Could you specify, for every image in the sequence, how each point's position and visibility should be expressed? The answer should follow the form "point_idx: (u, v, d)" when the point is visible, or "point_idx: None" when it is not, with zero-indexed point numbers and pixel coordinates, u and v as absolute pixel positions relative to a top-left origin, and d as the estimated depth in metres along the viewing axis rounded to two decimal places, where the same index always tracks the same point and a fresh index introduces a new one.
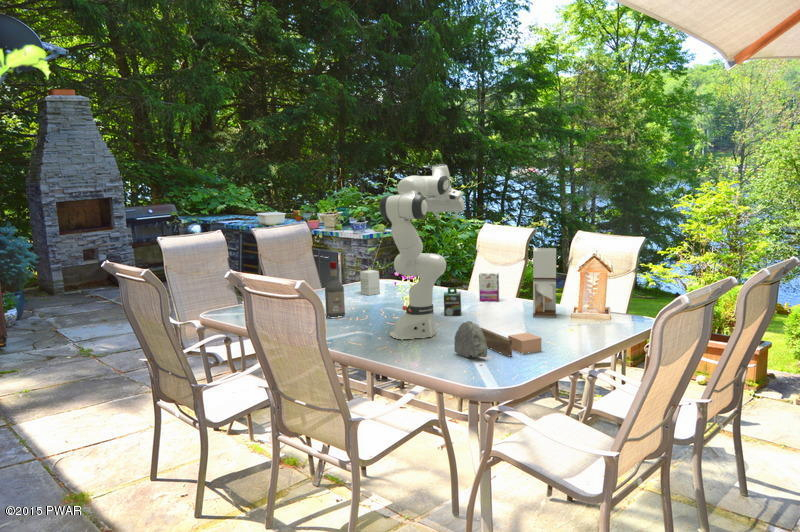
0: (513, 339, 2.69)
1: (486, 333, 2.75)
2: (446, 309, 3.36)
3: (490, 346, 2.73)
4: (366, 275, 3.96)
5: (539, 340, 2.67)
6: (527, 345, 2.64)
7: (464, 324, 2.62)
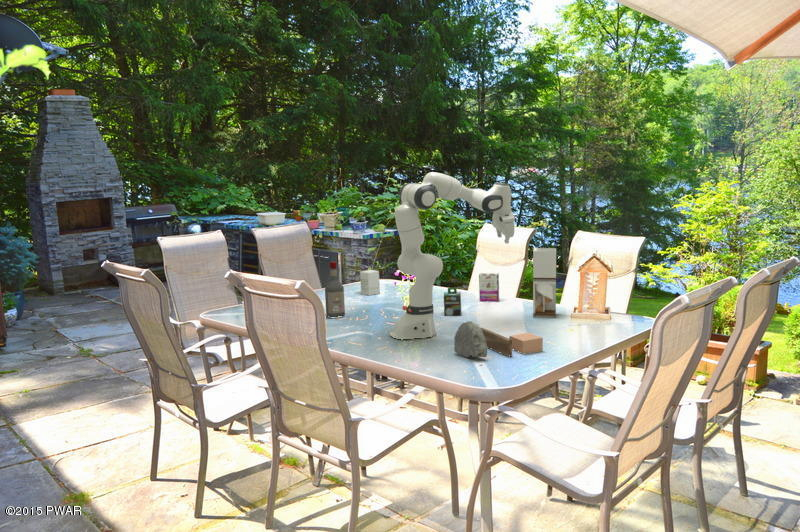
0: (514, 339, 2.68)
1: (486, 333, 2.75)
2: (446, 309, 3.36)
3: (490, 346, 2.73)
4: (366, 275, 3.96)
5: (540, 340, 2.67)
6: (529, 345, 2.64)
7: (464, 324, 2.62)
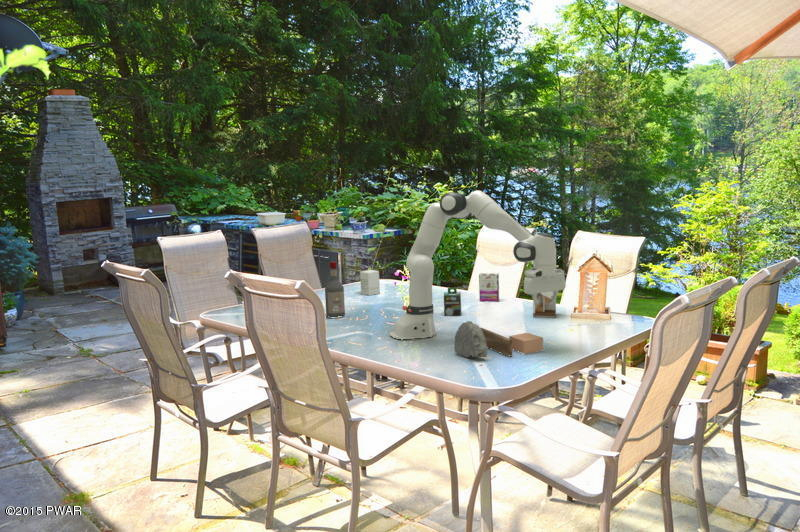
0: (515, 339, 2.68)
1: (486, 333, 2.75)
2: (446, 309, 3.36)
3: (490, 346, 2.73)
4: (366, 275, 3.96)
5: (540, 340, 2.67)
6: (529, 345, 2.64)
7: (464, 324, 2.62)
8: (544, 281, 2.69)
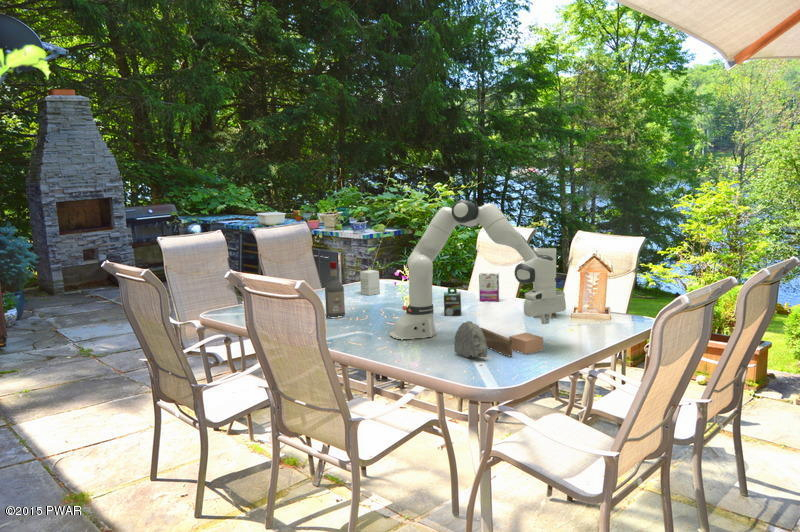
0: (515, 340, 2.68)
1: (486, 333, 2.75)
2: (446, 309, 3.36)
3: (490, 346, 2.73)
4: (366, 275, 3.96)
5: (541, 339, 2.67)
6: (530, 345, 2.64)
7: (464, 324, 2.62)
8: (544, 303, 2.70)
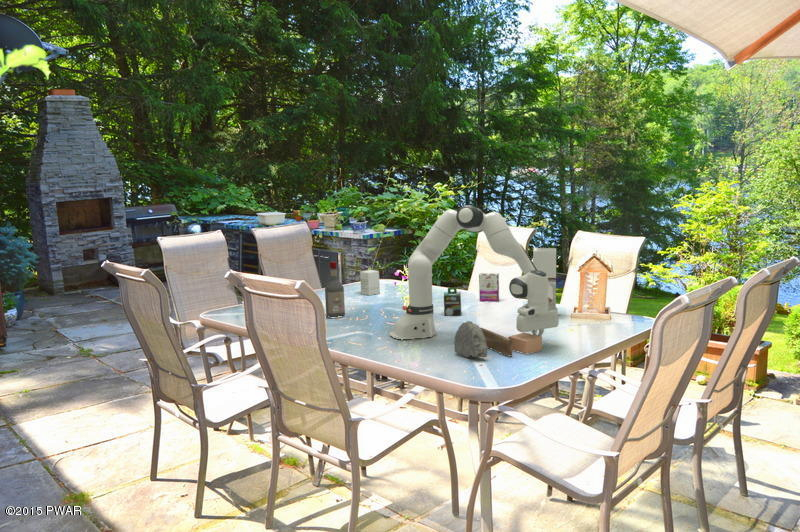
0: (515, 340, 2.67)
1: (486, 333, 2.75)
2: (446, 309, 3.36)
3: (490, 346, 2.73)
4: (366, 275, 3.96)
5: (540, 339, 2.68)
6: (530, 345, 2.64)
7: (464, 324, 2.62)
8: (537, 319, 2.69)
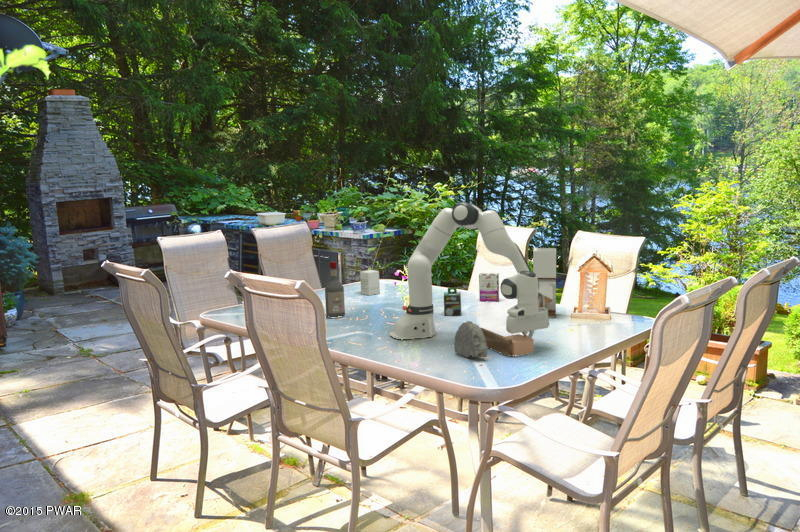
0: None
1: (486, 333, 2.75)
2: (446, 309, 3.36)
3: (490, 346, 2.73)
4: (366, 275, 3.96)
5: (531, 341, 2.64)
6: (520, 347, 2.62)
7: (464, 324, 2.62)
8: (527, 320, 2.67)
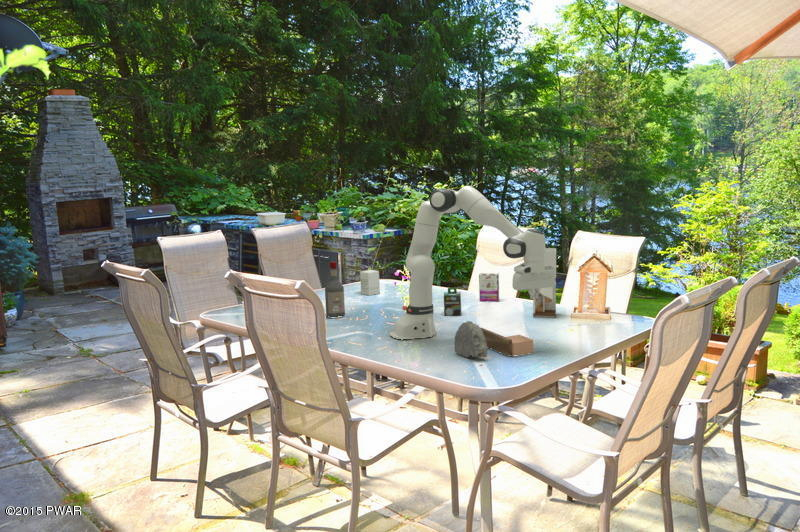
0: None
1: (486, 333, 2.75)
2: (446, 309, 3.36)
3: (490, 346, 2.73)
4: (366, 275, 3.96)
5: (531, 342, 2.64)
6: (519, 347, 2.61)
7: (464, 324, 2.62)
8: (533, 278, 2.69)
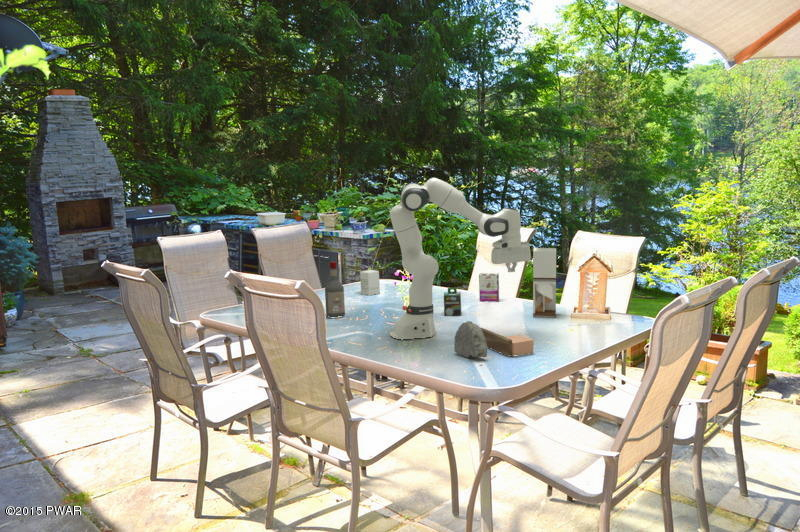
0: None
1: (486, 333, 2.75)
2: (446, 309, 3.36)
3: (490, 346, 2.73)
4: (366, 275, 3.96)
5: (531, 342, 2.64)
6: (519, 347, 2.61)
7: (464, 324, 2.62)
8: (510, 252, 2.92)
